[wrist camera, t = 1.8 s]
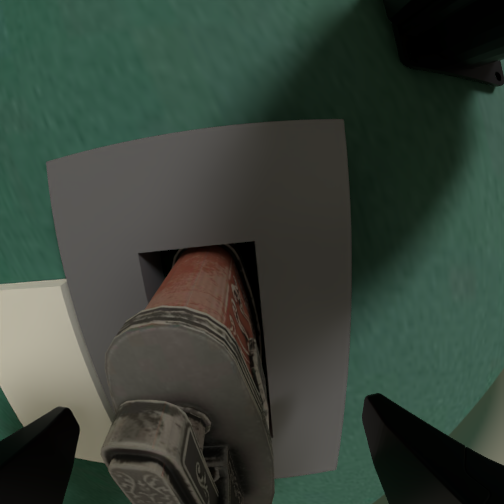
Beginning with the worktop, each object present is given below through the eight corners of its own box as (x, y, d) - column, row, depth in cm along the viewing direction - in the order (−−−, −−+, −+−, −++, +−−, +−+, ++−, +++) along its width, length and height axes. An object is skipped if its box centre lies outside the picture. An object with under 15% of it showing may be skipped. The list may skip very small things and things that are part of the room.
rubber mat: (70, 278, 13) (60, 286, 12) (138, 455, 16) (135, 467, 15) (-28, 286, 13) (-38, 292, 12) (43, 439, 16) (38, 448, 15)
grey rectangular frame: (324, 128, 11) (343, 118, 9) (327, 437, 15) (336, 469, 13) (78, 161, 11) (46, 162, 9) (156, 448, 15) (148, 478, 13)
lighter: (268, 391, 14) (290, 585, 5) (200, 397, 14) (174, 585, 5) (246, 227, 12) (258, 427, 3) (162, 239, 12) (-1, 411, 3)
